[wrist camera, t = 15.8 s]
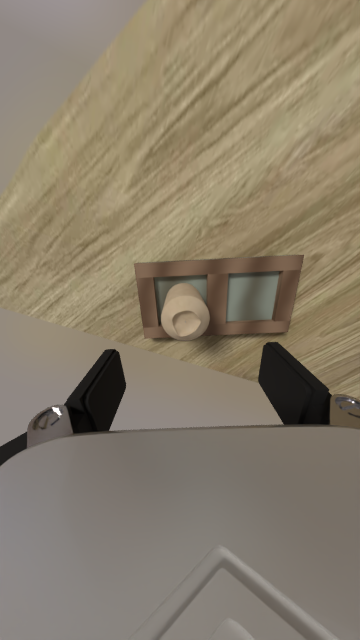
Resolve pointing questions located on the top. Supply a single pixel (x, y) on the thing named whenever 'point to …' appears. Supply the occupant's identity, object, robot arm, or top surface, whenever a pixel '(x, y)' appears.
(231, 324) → the divided tray
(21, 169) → the top surface
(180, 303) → the candle
